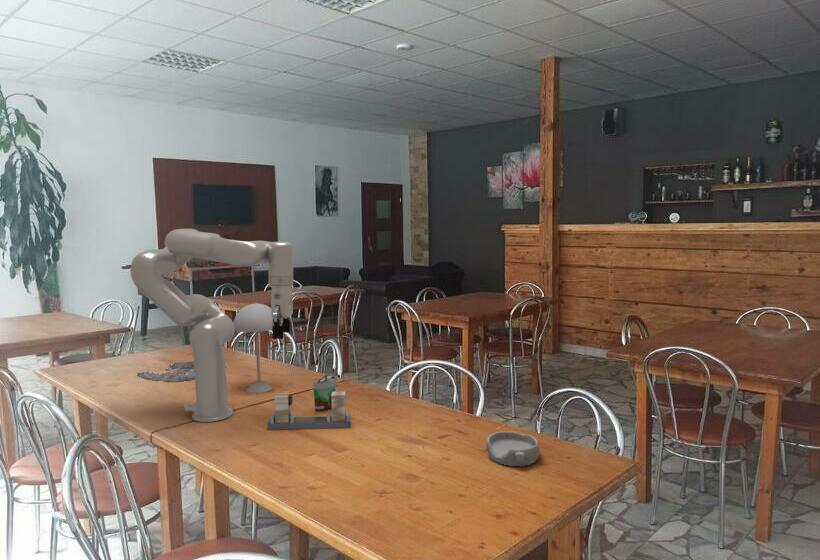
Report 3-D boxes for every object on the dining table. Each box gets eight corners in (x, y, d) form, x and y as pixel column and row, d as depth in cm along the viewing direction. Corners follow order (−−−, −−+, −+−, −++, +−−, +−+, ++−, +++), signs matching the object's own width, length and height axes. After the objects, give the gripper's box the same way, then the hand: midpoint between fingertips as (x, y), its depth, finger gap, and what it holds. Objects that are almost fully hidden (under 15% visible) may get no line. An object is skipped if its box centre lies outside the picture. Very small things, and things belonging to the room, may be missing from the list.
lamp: (243, 383, 232) (240, 299, 229) (287, 383, 232) (284, 298, 228) (229, 396, 215) (224, 306, 212) (276, 396, 215) (272, 305, 211)
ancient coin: (164, 361, 271) (164, 360, 271) (237, 362, 267) (237, 362, 267) (119, 381, 239) (119, 380, 239) (201, 383, 234) (201, 382, 234)
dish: (528, 473, 148) (528, 453, 148) (477, 461, 156) (477, 443, 155) (547, 453, 160) (547, 435, 160) (499, 443, 168) (499, 426, 167)
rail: (267, 430, 181) (266, 417, 180) (270, 424, 186) (270, 411, 185) (350, 427, 182) (349, 414, 181) (351, 421, 187) (350, 409, 186)
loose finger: (291, 422, 181) (290, 396, 180) (275, 422, 181) (274, 397, 180) (293, 417, 185) (292, 392, 184) (277, 418, 185) (276, 393, 184)
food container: (331, 413, 195) (330, 383, 194) (313, 412, 196) (312, 382, 195) (342, 402, 207) (342, 373, 206) (326, 401, 208) (325, 373, 207)
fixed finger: (329, 421, 182) (328, 395, 181) (330, 416, 186) (329, 391, 185) (345, 420, 182) (344, 395, 181) (346, 416, 186) (345, 391, 185)
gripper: (286, 284, 178) (287, 341, 179) (298, 278, 195) (298, 330, 197) (261, 284, 178) (262, 341, 180) (275, 278, 195) (276, 329, 197)
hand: (281, 335), depth 188 cm, fingers open, 9 cm apart
